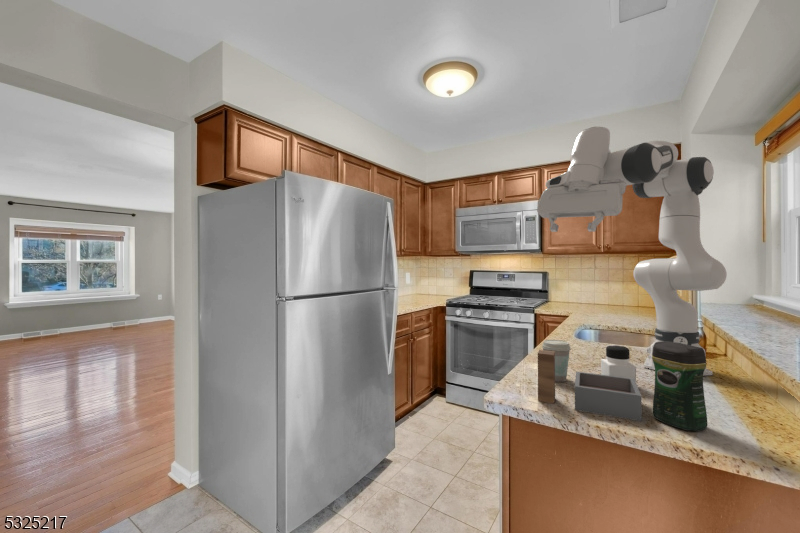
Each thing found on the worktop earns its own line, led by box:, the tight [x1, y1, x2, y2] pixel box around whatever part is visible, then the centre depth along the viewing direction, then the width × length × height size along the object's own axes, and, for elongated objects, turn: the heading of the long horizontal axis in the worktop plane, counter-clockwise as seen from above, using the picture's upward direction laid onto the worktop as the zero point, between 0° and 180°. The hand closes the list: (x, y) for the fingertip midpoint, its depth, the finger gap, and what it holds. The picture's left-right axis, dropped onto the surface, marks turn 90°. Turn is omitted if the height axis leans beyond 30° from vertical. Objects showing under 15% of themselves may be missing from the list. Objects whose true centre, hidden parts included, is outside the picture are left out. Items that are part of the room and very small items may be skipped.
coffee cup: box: [541, 339, 572, 383], centre depth 112 cm, size 8×8×12 cm
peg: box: [537, 349, 556, 404], centre depth 95 cm, size 4×4×13 cm
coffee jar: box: [652, 341, 708, 432], centre depth 80 cm, size 10×8×19 cm
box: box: [574, 371, 642, 422], centre depth 91 cm, size 14×14×6 cm
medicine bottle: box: [600, 344, 637, 383], centre depth 105 cm, size 7×7×12 cm
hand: (571, 230), depth 89 cm, fingers open, 8 cm apart
